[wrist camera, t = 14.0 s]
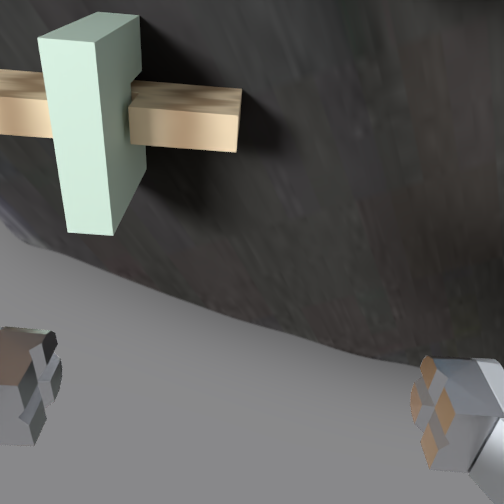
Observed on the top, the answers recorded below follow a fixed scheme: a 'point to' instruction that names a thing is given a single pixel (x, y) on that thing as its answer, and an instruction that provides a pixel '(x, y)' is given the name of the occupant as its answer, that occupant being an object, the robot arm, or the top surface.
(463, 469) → the robot arm
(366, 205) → the top surface
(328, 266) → the top surface
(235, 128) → the oak board
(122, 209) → the sage plate
